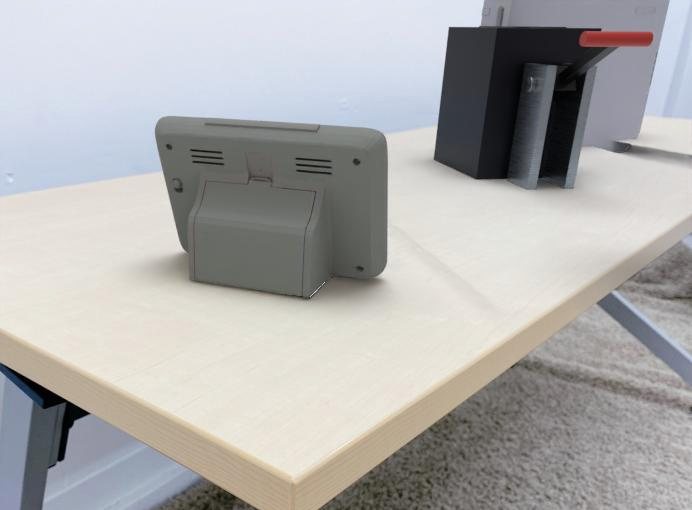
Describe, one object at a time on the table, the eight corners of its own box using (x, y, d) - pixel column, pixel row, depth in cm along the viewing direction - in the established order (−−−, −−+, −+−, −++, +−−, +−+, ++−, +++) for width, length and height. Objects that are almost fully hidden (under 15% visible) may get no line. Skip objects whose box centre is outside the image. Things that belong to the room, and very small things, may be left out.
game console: (456, 157, 94) (477, -9, 86) (601, 145, 105) (631, -4, 97) (486, 165, 89) (512, -11, 81) (635, 151, 100) (671, -6, 92)
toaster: (570, 188, 77) (602, 27, 70) (474, 191, 75) (497, 26, 69) (517, 168, 88) (540, 26, 81) (432, 169, 86) (448, 25, 80)
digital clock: (398, 278, 49) (414, 120, 45) (337, 318, 43) (348, 137, 38) (213, 240, 58) (212, 104, 54) (138, 268, 51) (129, 115, 47)
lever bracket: (582, 201, 72) (609, 65, 66) (516, 202, 71) (539, 66, 65) (555, 190, 76) (579, 63, 71) (494, 191, 75) (513, 63, 70)
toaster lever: (655, 49, 60) (652, 21, 60) (588, 49, 59) (586, 21, 59) (578, 101, 71) (576, 78, 71) (521, 102, 70) (519, 78, 70)
